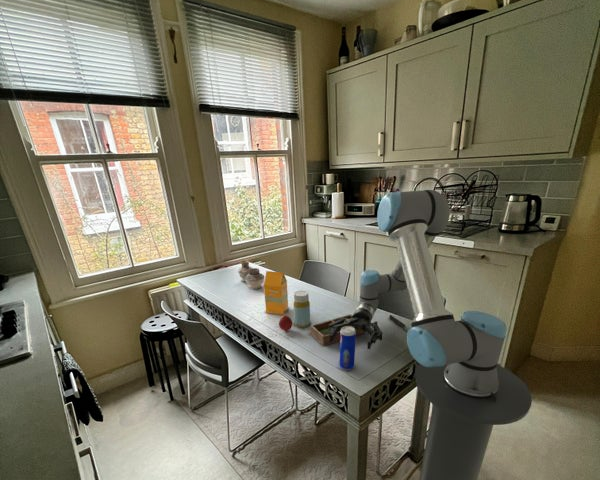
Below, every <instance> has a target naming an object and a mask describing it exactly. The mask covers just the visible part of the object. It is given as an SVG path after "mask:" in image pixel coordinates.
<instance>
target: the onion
mask: <svg viewBox="0 0 600 480" xmlns="http://www.w3.org/2000/svg"><path fill="white" fill-rule="evenodd" d="M293 324H294V323H293V320H292V319H291V317H290V316H288V315H287V314H286V313H284V314H283V316H282V317H281V318H279V321H278V326H279V328H280V329H281V330H282V331H284V332H288V331H289V330H291V329H292V327H293Z"/></svg>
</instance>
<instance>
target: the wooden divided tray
mask: <svg viewBox="0 0 600 480" xmlns="http://www.w3.org/2000/svg"><path fill="white" fill-rule="evenodd" d="M344 316H345V317H346V319H350V318H352V316H353V314H346V315H343V316H339V317H336V318H332V319H328V320H325V321H322V322H318V323H315V324H311V325H310V335H311V336H312V337H313V338H314V339H315V340H316V341H318V343H319V344H321V345H322V346H323V347H324V346H328V345H330V344H333V343H337V342H340V331H339V332H337V335H336V336H335V338H334V340H333V341H332V342H330V331H329V324H331V323H333V322H335V321H337V320H340V319H342V317H344ZM355 331H356V336H359V335H362V334H365V333H366V332H364V331H363V330H362V329H361V330H360V329H355Z"/></svg>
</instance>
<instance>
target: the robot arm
mask: <svg viewBox="0 0 600 480" xmlns="http://www.w3.org/2000/svg"><path fill="white" fill-rule="evenodd" d="M450 214H451V209H450V205H449V202H448V200H447V198H446V197H445V195H443V194H442V193H441V192H440V191H437V190H434V189H424V190H423V189H422V190H409V191H408V190H407V191H399V190H397V191H394V192H388V193H386V194H385V195H384V196H383V197H382V198H381V200H380V201H379V205H378V208H377V216H376V221H377V227H378V229H379V230H380V231H381V232H383V233H387V235H388V239H389V241H390V242H393V243H394V244H395V246H396V250H397V253H398V256H399V257H398V260H397V262H396V264H395V266H394V267H393V269H392V271H391V272H390V273H384V274H380V272H379V271H378V270H373V269H372V270H371V269H368V270H364V271H362V272H361V274H360V279H359V280H360V281H359V301H358V303H359V304H358V306H357V307H356V309H355V310H354V312H353V314H352V318H350V319H346V317H345V316H346V315H343V316H344V317H343V316H341V317H342V319H340V320H337V321H335V322H333V323H331V324H329V331H330V342H332V341H333V340H334V338H335V336H336V335H337V332H339V331H341V328H342V327H345V326H351V327H353V328H354V329H360V330H361V329H362V330H363V331H364V332H365V333H366V334H368V335H369V339H368V341H367V348H366V349H367V350H371V347H372V344H376V342H377V341H378V340H379V341H382V340H383V337H384V333H383V332H382V330H381V328H380V326H379V325H378V323H379V322H378V321H375V320H374V321H373V322H372V320H373V318H374V316H375V313H376V312H377V310H378V308H379V304H380V303H379V302H380V301H379V299H378V298H379V294H381V293H388V292H396V291H404V290H407V294H408V296H409V300H410V304H411V307H412V312H413V315H414V316H413V318H412V320H411V321H410V326H411V327H410V330H409V331H407V333H406V337H407V338H406V345H407V347H408V348H407V349H408V351H409V353H410V355H411V356H412V357H413V359H414V360H415V361H416V362H417V363H418V364H421V365H423V366H425V367H435V366H437V367H439V366H444V365H447V367H446V368H445V371H444V375H443V378H444V381H445V383H446V384H447V385H448V386H449V387H450V388H451V389H452V390H454V391H456V392H457V393H459V394H462V395H464V396H467V397H471V398H479V399H484V398H490V397H493V398H494V400H495V399H497V397H496V396H495V394H496V393H497V391H498V387H499V381H498V375H497V368H496V367H497V364H498V363H499V360H500V357H501V352H502V349H503V346H504V342H505V339H506V337H507V336H506V334H507V324H506V323H505V322H504V321H503V319H500V318H499V317H497V316H495V315H493V314H491V313H487V312H483V311H478V310H466V311H464V312H463V313H462V314H461V316H460V320H455V317H454V314H453V313H452V312H450V311H448V310H447V309H446V305H445V303H444V299H443V295H442V292H441V289H440V288H441V287H440V286H439V282H438V278H437V275H436V271H435V267H434V263H433V261H432V257H431V253H430V250H429V248H430V247H431V245H432V244H433V243H434V241H435V239H436V237H439V236H440V235H442V233H443V232H444V230H445V229H446V227H447V225H448V222H449V220H450Z"/></svg>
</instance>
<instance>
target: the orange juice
mask: <svg viewBox="0 0 600 480" xmlns="http://www.w3.org/2000/svg"><path fill="white" fill-rule="evenodd" d="M263 291H264V303H265V313H268V314H274V315H283V316H284V314H286V311H288V309H289V293H288V280H287V278H286V276H285V273H284V272H283V271H282V272H281V271H272V270H266V271H265V275H264V281H263Z"/></svg>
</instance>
